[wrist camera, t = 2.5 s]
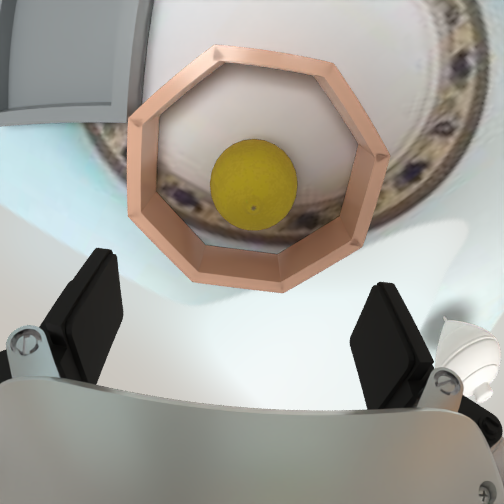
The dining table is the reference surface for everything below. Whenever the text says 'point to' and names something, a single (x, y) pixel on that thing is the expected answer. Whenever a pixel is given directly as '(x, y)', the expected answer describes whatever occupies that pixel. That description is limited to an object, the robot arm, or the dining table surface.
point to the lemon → (253, 184)
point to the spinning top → (469, 356)
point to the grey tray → (72, 60)
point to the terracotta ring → (243, 261)
